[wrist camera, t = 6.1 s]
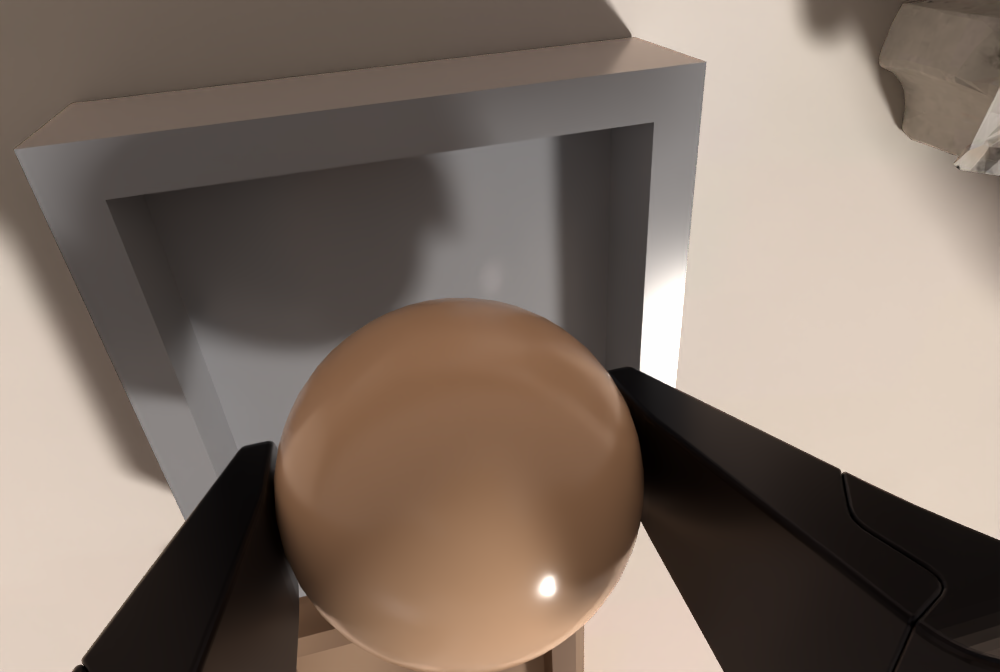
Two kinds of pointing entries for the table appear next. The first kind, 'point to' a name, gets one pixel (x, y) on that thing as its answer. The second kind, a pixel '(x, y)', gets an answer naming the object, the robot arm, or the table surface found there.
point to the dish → (367, 221)
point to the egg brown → (459, 486)
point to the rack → (347, 668)
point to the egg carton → (950, 77)
